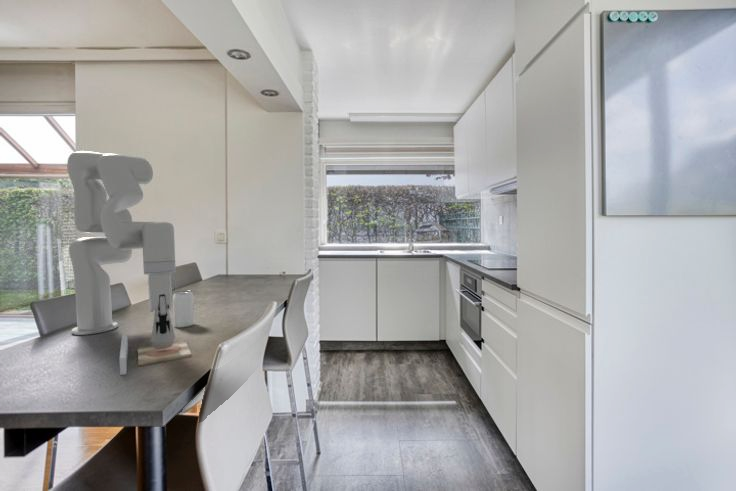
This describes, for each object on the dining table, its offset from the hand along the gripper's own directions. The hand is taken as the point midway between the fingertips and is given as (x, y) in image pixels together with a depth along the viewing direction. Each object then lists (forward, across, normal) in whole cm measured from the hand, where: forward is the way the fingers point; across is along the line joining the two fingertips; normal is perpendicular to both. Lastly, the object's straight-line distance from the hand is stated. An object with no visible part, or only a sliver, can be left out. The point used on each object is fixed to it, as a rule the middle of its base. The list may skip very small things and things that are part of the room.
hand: (162, 333), depth 98 cm
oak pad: (+5, 0, 0) cm, 5 cm away
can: (+6, -28, +8) cm, 30 cm away
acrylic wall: (+5, 0, -9) cm, 11 cm away
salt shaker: (+4, 0, 0) cm, 4 cm away
